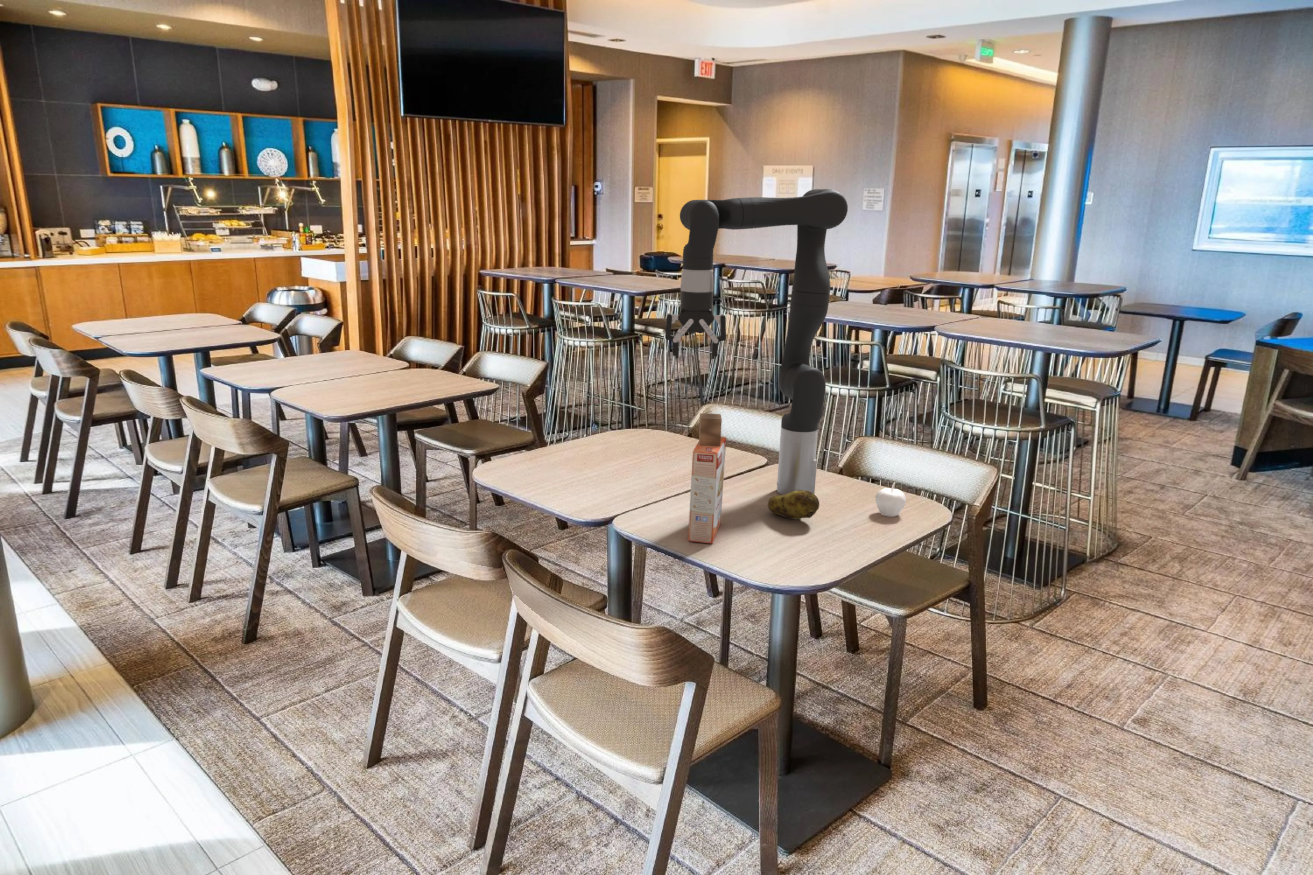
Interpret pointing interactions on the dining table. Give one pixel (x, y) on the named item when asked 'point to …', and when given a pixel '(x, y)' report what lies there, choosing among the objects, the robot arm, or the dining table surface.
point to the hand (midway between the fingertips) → (694, 358)
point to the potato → (794, 504)
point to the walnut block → (710, 429)
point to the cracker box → (706, 492)
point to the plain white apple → (890, 501)
